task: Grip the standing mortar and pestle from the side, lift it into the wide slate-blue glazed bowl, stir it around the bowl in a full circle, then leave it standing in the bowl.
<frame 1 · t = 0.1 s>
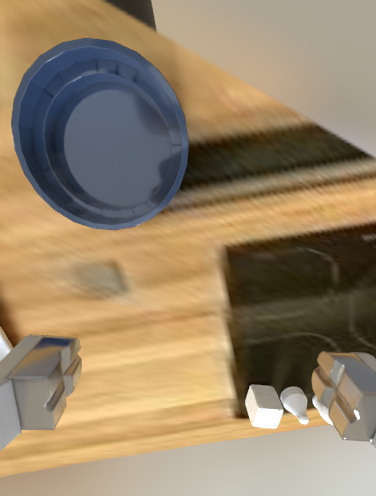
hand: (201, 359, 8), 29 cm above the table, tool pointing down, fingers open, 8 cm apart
bowl: (116, 151, 32), on the table
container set: (291, 394, 48), on the table
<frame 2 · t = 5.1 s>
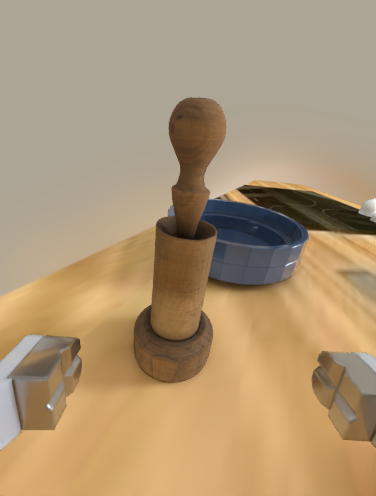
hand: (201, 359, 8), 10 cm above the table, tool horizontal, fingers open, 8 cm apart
mortar and pestle: (172, 346, 19), on the table
bowl: (228, 251, 37), on the table
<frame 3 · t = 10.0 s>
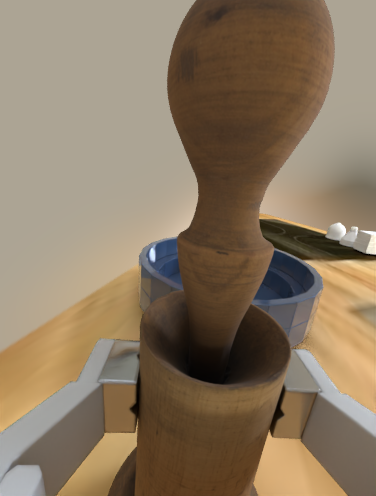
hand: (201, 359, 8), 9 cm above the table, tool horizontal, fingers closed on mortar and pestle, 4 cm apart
bowl: (219, 301, 29), on the table
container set: (348, 245, 66), on the table
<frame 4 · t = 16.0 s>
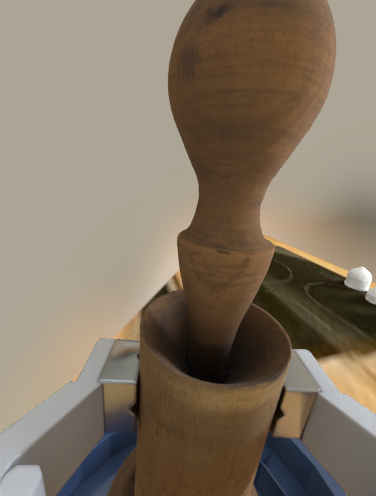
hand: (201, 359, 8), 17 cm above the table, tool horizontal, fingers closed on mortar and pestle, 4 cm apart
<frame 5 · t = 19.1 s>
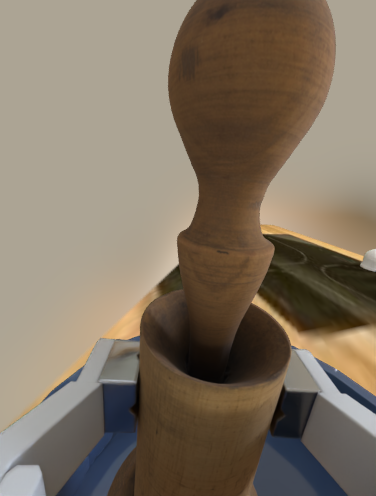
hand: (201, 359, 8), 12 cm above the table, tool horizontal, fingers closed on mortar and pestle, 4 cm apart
when the fingers open (10 cm above the table, at t = 22.1 s): mortar and pestle stays where it is, resting on bowl.
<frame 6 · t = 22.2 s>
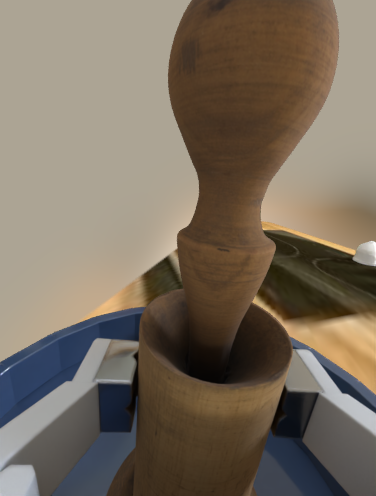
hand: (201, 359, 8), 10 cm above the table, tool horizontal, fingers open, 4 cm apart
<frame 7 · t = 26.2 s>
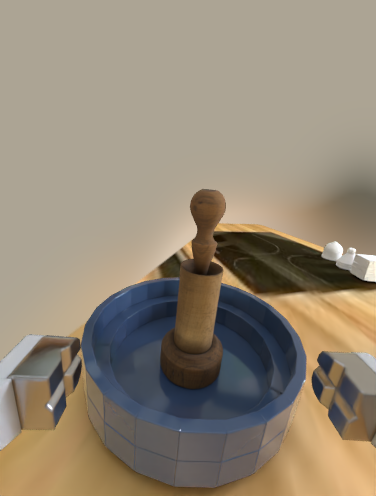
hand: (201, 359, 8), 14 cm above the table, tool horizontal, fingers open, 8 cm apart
mortar and pestle: (190, 363, 24), point 1 cm above the table, touching bowl
bowl: (188, 367, 24), on the table
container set: (345, 267, 62), on the table
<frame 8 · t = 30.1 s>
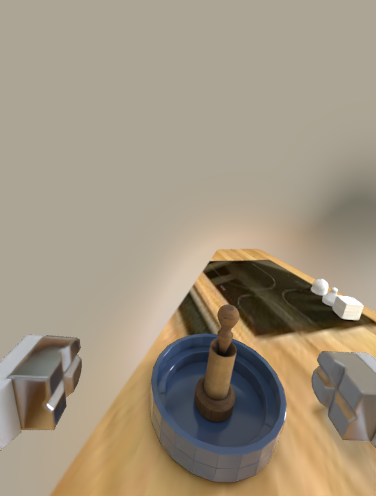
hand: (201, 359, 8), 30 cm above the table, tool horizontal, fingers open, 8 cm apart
mortar and pestle: (213, 402, 37), point 1 cm above the table, touching bowl
bowl: (212, 405, 37), on the table
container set: (329, 303, 75), on the table
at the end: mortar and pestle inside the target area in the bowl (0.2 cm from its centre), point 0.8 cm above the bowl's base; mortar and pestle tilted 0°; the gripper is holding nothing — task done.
